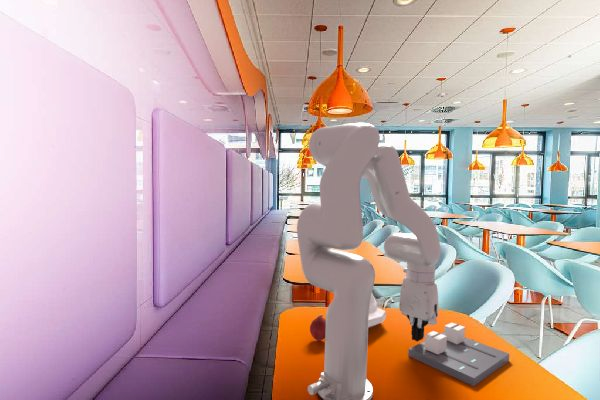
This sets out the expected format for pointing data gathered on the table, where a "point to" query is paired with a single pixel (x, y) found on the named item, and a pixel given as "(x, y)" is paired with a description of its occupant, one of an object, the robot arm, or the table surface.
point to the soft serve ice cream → (375, 313)
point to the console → (462, 359)
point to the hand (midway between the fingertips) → (417, 339)
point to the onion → (318, 328)
